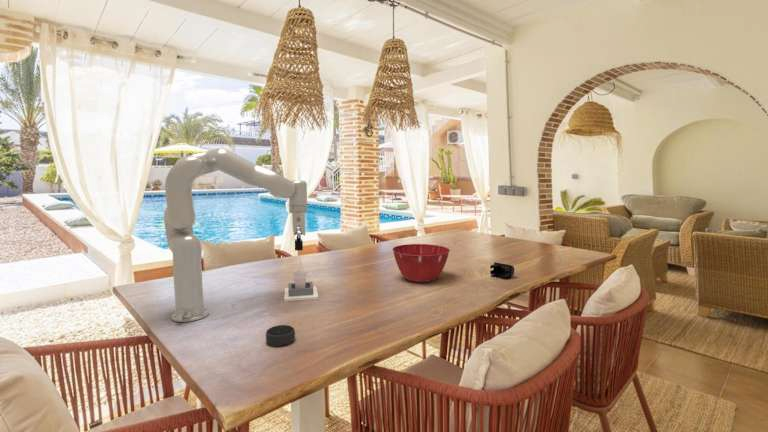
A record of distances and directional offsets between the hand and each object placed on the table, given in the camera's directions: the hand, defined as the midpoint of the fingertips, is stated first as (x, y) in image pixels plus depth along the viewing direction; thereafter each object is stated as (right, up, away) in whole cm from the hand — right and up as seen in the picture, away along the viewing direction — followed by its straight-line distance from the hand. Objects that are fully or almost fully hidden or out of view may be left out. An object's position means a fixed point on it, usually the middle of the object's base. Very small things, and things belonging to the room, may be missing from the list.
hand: (298, 248), depth 175 cm
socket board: (+1, -21, +2) cm, 21 cm away
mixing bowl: (+56, -18, +27) cm, 64 cm away
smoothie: (0, -20, +2) cm, 20 cm away
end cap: (+97, -17, +29) cm, 103 cm away
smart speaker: (+4, -26, -47) cm, 54 cm away
